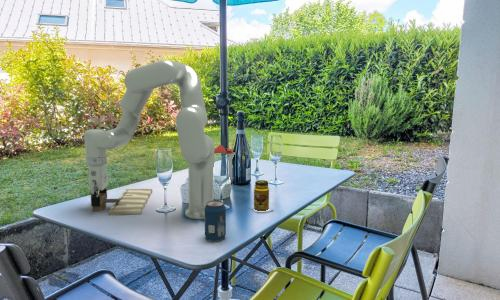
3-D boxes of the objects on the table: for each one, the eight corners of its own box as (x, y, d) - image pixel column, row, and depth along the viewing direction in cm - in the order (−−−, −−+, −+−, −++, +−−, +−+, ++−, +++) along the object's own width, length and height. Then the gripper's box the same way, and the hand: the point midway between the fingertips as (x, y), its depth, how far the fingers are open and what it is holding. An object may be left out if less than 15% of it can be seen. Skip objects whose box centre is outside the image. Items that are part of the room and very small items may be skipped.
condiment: (257, 213, 145) (257, 184, 143) (248, 207, 153) (248, 179, 151) (273, 211, 148) (274, 182, 146) (263, 205, 156) (264, 177, 154)
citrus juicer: (198, 180, 193) (198, 143, 189) (230, 178, 199) (230, 141, 195) (205, 188, 179) (205, 148, 175) (239, 185, 184) (239, 146, 181)
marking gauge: (118, 210, 147) (117, 196, 146) (92, 211, 145) (91, 197, 144) (121, 206, 151) (120, 192, 150) (96, 207, 150) (95, 193, 149)
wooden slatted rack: (140, 213, 143) (140, 210, 143) (109, 214, 142) (108, 210, 142) (152, 191, 173) (152, 188, 172) (126, 192, 171) (125, 189, 171)
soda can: (209, 232, 126) (209, 199, 124) (228, 235, 124) (228, 201, 122) (201, 240, 120) (200, 205, 117) (221, 243, 118) (221, 207, 116)
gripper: (100, 165, 137) (103, 209, 140) (112, 156, 153) (114, 195, 156) (79, 165, 136) (82, 209, 139) (93, 156, 153) (96, 196, 156)
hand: (99, 202), depth 148 cm, fingers open, 9 cm apart
